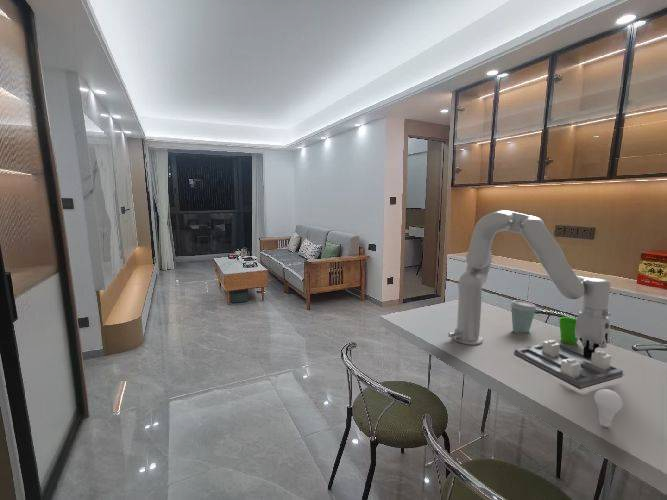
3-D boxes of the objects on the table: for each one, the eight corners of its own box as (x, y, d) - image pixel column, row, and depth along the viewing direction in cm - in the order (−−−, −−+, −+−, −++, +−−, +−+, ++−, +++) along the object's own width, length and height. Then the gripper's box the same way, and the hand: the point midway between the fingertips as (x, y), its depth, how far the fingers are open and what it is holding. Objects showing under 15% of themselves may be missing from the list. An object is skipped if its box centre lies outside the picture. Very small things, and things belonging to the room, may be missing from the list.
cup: (585, 350, 141) (588, 325, 139) (561, 348, 143) (564, 324, 141) (574, 341, 150) (577, 317, 148) (552, 339, 151) (554, 316, 150)
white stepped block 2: (571, 378, 116) (573, 363, 115) (560, 372, 120) (561, 358, 119) (579, 376, 118) (581, 361, 117) (568, 370, 121) (569, 356, 120)
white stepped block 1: (551, 357, 131) (552, 343, 130) (542, 352, 135) (543, 339, 134) (558, 355, 133) (560, 342, 132) (549, 351, 136) (550, 338, 135)
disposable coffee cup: (520, 327, 166) (522, 297, 163) (539, 335, 156) (542, 304, 153) (503, 329, 163) (505, 300, 160) (521, 338, 152) (524, 307, 150)
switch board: (579, 389, 113) (580, 382, 112) (514, 355, 137) (514, 349, 136) (621, 377, 120) (622, 370, 120) (553, 346, 144) (553, 341, 144)
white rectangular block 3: (602, 370, 122) (604, 355, 121) (590, 364, 125) (592, 350, 124) (609, 368, 123) (611, 353, 122) (597, 363, 127) (599, 349, 126)
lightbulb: (585, 419, 98) (590, 385, 96) (604, 418, 98) (609, 384, 96) (603, 434, 92) (609, 397, 90) (624, 433, 92) (630, 396, 90)
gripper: (623, 316, 119) (616, 364, 122) (580, 304, 133) (575, 347, 136) (609, 319, 117) (603, 368, 120) (567, 306, 131) (562, 350, 134)
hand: (588, 357), depth 128 cm, fingers closed
